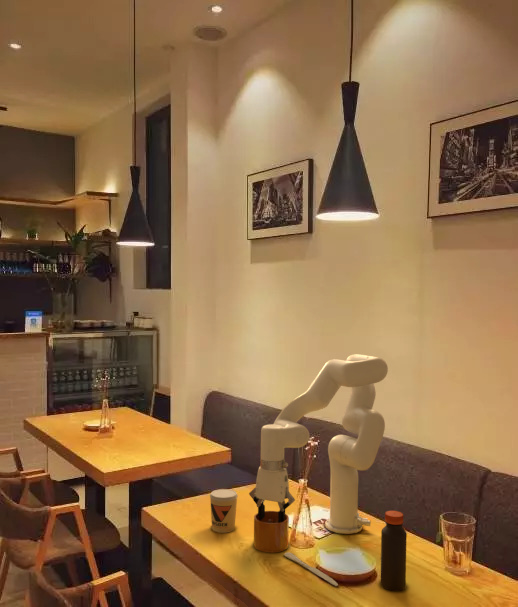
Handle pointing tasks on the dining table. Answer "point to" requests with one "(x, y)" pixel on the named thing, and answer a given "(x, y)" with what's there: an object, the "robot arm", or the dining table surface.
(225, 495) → the coffee cup
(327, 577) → the butter knife
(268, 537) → the tumbler
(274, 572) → the dining table surface
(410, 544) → the dining table surface
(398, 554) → the bottle
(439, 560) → the dining table surface
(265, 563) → the dining table surface
